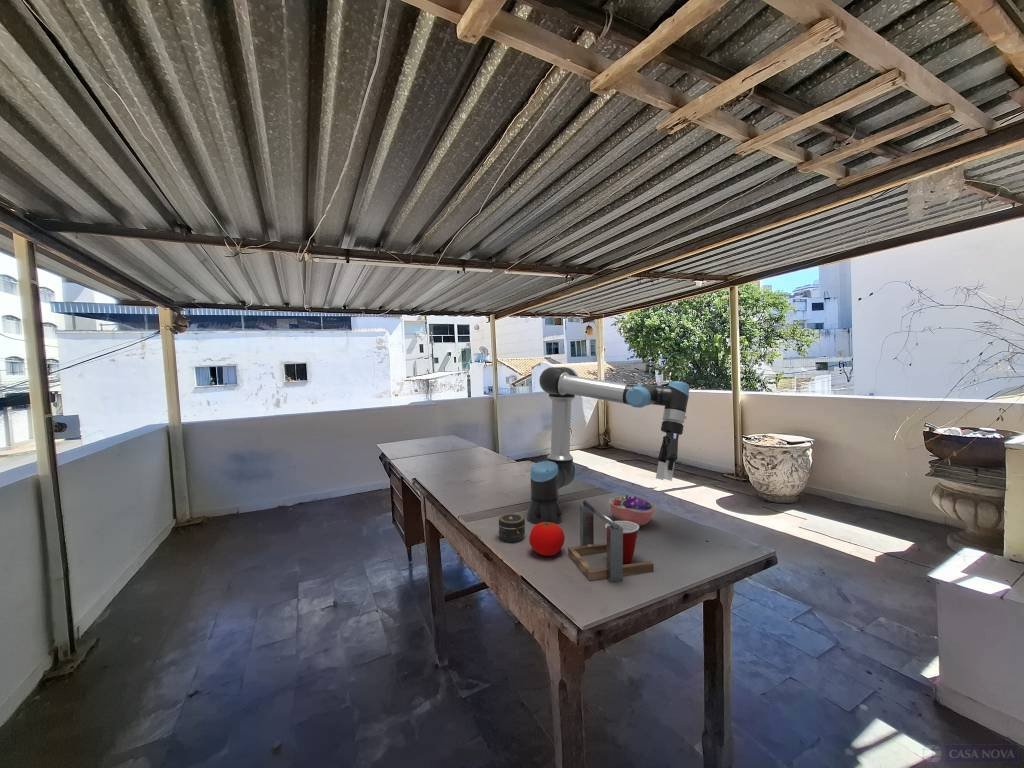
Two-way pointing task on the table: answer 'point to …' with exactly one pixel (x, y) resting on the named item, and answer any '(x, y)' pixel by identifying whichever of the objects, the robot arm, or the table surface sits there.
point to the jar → (511, 527)
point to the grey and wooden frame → (603, 549)
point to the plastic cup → (628, 539)
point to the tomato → (546, 538)
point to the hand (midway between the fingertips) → (663, 479)
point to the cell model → (632, 509)
